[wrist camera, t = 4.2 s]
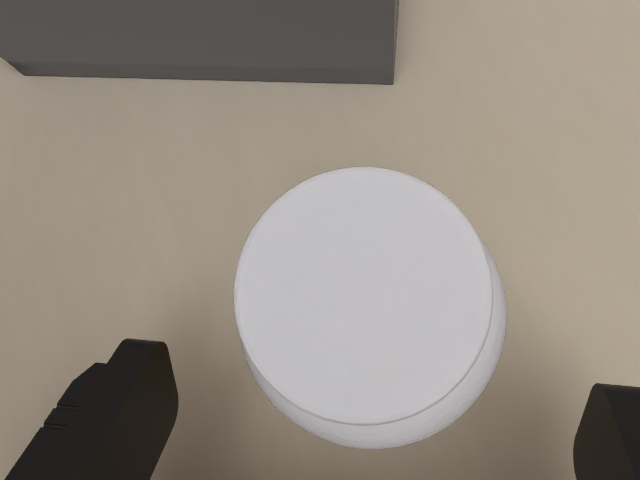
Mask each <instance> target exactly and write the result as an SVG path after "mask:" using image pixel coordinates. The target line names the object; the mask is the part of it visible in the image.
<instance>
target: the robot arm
mask: <svg viewBox="0 0 640 480" xmlns="http://www.w3.org/2000/svg"><path fill="white" fill-rule="evenodd" d="M177 411H178V392H177V388H176V383H175V379H174V374H173V370H172V365H171V361H170V356H169V352H168V348H167V346H166V344H165V343H164V342H159V341H149V340H138V339H125V340H123V341H122V342H121V343H120V345H119V346H118V347H117V349H116V351H115V352H114V354H113V355H112V357H111V358H110V360H109V361H108V363H107V364H105V363H95V364H94V365H92V366H91V367H90V368H89V369H87V370H86V371H85V372H84V373H82V374H81V375H80V376H78V377H77V378H76V379H75V380H73V381H72V383H71V384H70V386H69V387H68V388H67V390H66V391H65V393H64V394H63V396H62V397H61V399H60V400H59V402H58V403H57V407H56V409H55V408H54V409H53V410H52V412H51V413H50V415H49V416H48V417H47V419H46V420H45V422H44V426H43V428H40V429H39V430H38V432H37V433H36V435H35V436H34V438H33V439H32V441H31V442H30V443H29V445H28V446H27V448H26V449H25V451H24V452H23V454H22V455H21V457H20V458H19V459H18V461H17V462H16V464H15V465H14V467H13V468H12V470H11V471H10V472H9V474H8V475H7V477H6V478H5V480H150V478H151V475H152V473H153V471H154V469H155V466H156V464H157V462H158V460H159V458H160V455H161V453H162V451H163V449H164V446H165V444H166V442H167V440H168V438H169V435H170V433H171V431H172V429H173V426H174V424H175V420H176V417H177ZM573 461H574V470H575V475H576V479H577V480H640V387H632V386H621V385H610V384H599V383H597V384H595V385H594V386H593V387H592V390H591V392H590V395H589V398H588V401H587V404H586V407H585V410H584V413H583V416H582V419H581V422H580V425H579V427H578V430H577V433H576V436H575V440H574V447H573Z"/></svg>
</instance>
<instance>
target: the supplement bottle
mask: <svg viewBox="0 0 640 480" xmlns="http://www.w3.org/2000/svg"><path fill="white" fill-rule="evenodd" d="M233 301H234V313H235V319H236V324H237V328H238V332H239V335H240V339H241V343H242V348H243V351H244V354H245V358H246V361H247V363H248V366H249V368H250V370H251V372H252V374H253V376H254V378H255V380H256V382H257V384H258V385H259V387H260V388H261V390H262V391H263V392H264V394H265V395H266V397H267V398H268V399H269V400H270V401H271V403H272V404H273V405H274V406H275V407H276V408H277V409H278V410H279V411H280V412H281V413H282V414H283V415H285V416H286V417H287V418H288V419H290V420H291V421H292V422H293V423H295V424H296V425H298V426H300V427H301V428H303V429H304V430H306V431H308V432H310V433H312V434H313V435H315V436H317V437H319V438H322V439H324V440H327V441H329V442H332V443H335V444H338V445H342V446H346V447H353V448H360V449H385V448H395V447H399V446H404V445H408V444H412V443H415V442H418V441H421V440H424V439H426V438H428V437H430V436H432V435H434V434H436V433H438V432H440V431H441V430H443V429H445V428H446V427H448V426H449V425H450V424H452V423H453V422H454V421H456V420H457V419H458V418H459V417H461V416H462V415H463V414H464V413H465V412H466V411H467V410H468V409H469V408H470V407H471V406H472V405H473V404H474V402H475V401H476V400H477V399H478V397H479V396H480V395H481V393H482V392H483V391H484V389H485V388H486V386H487V384H488V382H489V381H490V379H491V377H492V375H493V373H494V371H495V368H496V366H497V363H498V361H499V358H500V356H501V353H502V348H503V344H504V340H505V331H506V321H507V319H506V300H505V293H504V288H503V284H502V280H501V277H500V274H499V271H498V268H497V266H496V263H495V261H494V259H493V257H492V255H491V253H490V251H489V249H488V248H487V246H486V245H485V243H484V241H483V240H482V238H481V237H480V236H479V234H478V233H477V232H476V231H475V229H474V227H473V226H472V224H471V223H470V221H469V220H468V219H467V217H466V216H465V215H464V213H463V212H462V211H461V210H460V209H459V208H458V207H457V206H456V205H455V204H454V203H453V202H452V201H451V200H450V199H449V198H447V197H446V196H445V195H444V194H443V193H442V192H440V191H439V190H437V189H436V188H434V187H433V186H431V185H429V184H427V183H425V182H423V181H421V180H419V179H417V178H415V177H413V176H411V175H408V174H405V173H402V172H399V171H394V170H390V169H384V168H379V167H350V168H341V169H337V170H332V171H328V172H325V173H322V174H319V175H316V176H314V177H312V178H309V179H307V180H305V181H303V182H301V183H300V184H298V185H296V186H294V187H293V188H291V189H290V190H289V191H287V192H286V193H284V194H283V195H282V196H281V197H280V198H278V199H277V200H276V201H275V202H274V203H273V204H272V205H271V206H270V207H269V208H268V209H267V210H266V211H265V212H264V213H263V215H262V216H261V217H260V219H259V220H258V221H257V223H256V224H255V225H254V227H253V229H252V230H251V232H250V234H249V235H248V237H247V239H246V242H245V244H244V246H243V248H242V251H241V254H240V257H239V260H238V264H237V268H236V273H235V279H234V298H233Z"/></svg>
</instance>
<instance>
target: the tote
mask: <svg viewBox="0 0 640 480" xmlns="http://www.w3.org/2000/svg"><path fill="white" fill-rule="evenodd" d="M398 5H399V0H0V57H2V58H3V59H4V60H5V61H7V62H8V63H9V64H10V65H12V66H13V67H14V68H15V69H17V70H18V71H19V72H20V73H22V74H23V75H38V76H79V77H119V78H159V79H199V80H239V81H279V82H319V83H359V84H393V79H394V64H395V50H396V35H397V20H398Z"/></svg>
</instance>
